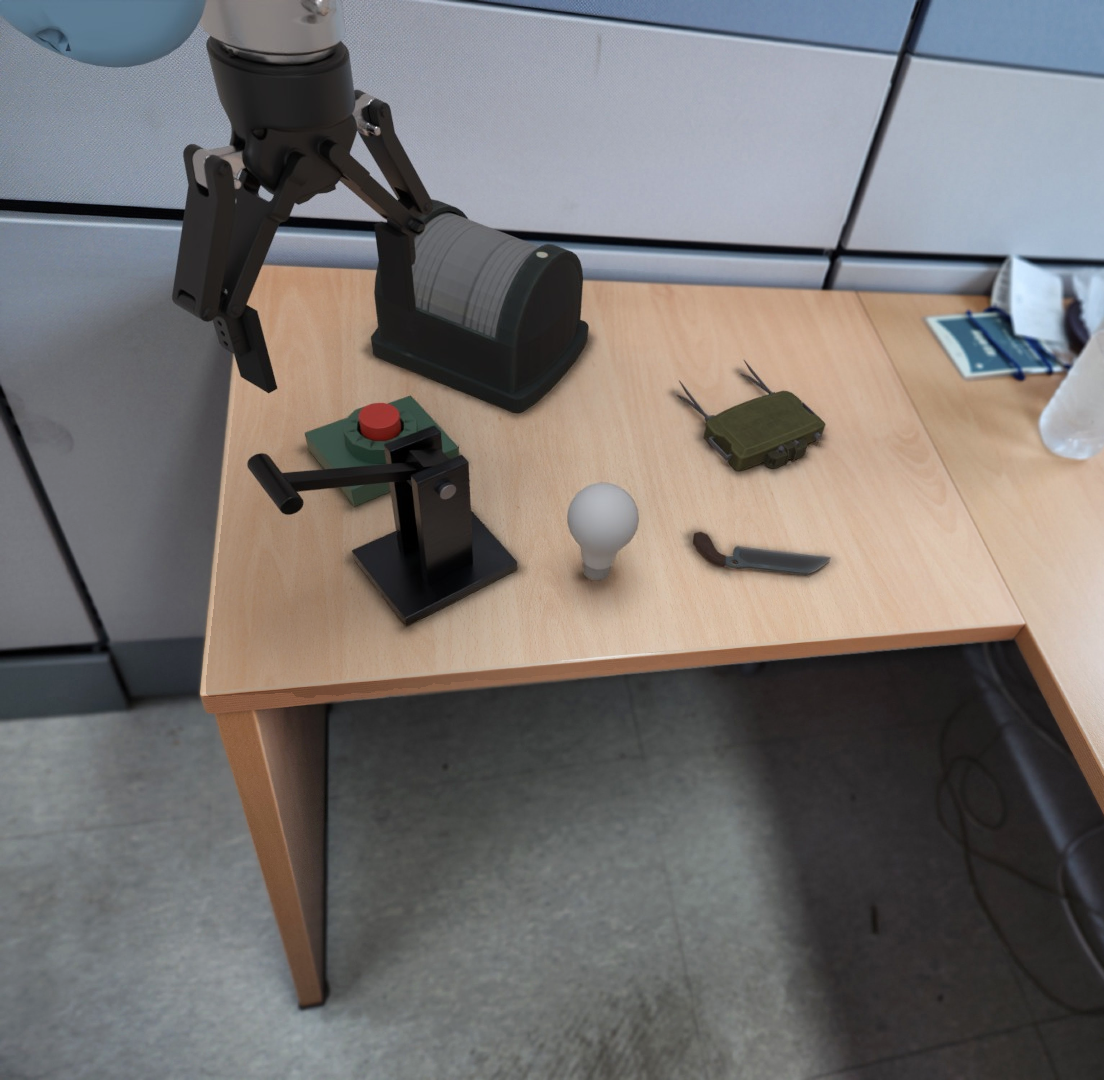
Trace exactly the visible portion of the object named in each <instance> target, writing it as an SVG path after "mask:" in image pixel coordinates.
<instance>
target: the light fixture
mask: <svg viewBox="0 0 1104 1080" xmlns="http://www.w3.org/2000/svg"><path fill="white" fill-rule="evenodd" d="M431 200H432V202H433V211H432V212H431V213H430V214H429V215H424V214H422V215H421V216H420V217H419V219H421V220H422V221H424V223H425V230H424V232H423V233H422V234H421V235H419V236H417V235H415V234H414V242H415V253H416V259H415V264H414V265H412V273H413V283H414V294H415V304H416V309H415V310H413V311H411V312H407V311H405V310H404V309H402V308H400V307H398V306H396V305H394V304H393V303H391V302H389V301H387V300H385V299H384V298H383V290H382V282H381V275H380V267H379V261H378V263H377V266H376V271H375V272H376V273H375V278H374V289H373V290H374V291H373V294H374V295H373V296H374V303H375V304H374V305H375V312H376V313H375V314H376V319H377V320H376V321H377V328H376V329H375V330H374V331H373V333H372V334H371V335H370V342H371V349H372V350H371V351H372V355H373V356H374V357H376V358H378V359H380V360H383V361H386V362H388V363H390V364H393V365H395V366H398V367H401V368H403V369H405V370H408V371H410V372H412V373H415V374H417V375H419V376H422V377H425V378H428V379H430V380H432V381H435V382H437V383H439V384H442V385H444V386H447V387H449V388H451V389H454V390H457V391H459V392H461V393H464V394H467V395H469V396H471V397H474V398H475V399H476V398H477V399H479V400H481V401H484V402H485V403H489V404H492V405H494V406H497V407H499V408H501V409H503V410H506V411H509V412H512V413H516V414H520V413H523V412H525V411H526V410H528V409H529V408H531V407H532V406H534V405H535V404H536V403H538V401H540V400H541V399H542V398H543V397H544V396H546V395H547V394H548V393H549V392H550V391H551V390H552V389H553V388H554V387H555V386H556V384H558V382H559V381H561V379H562V378H564V376H565V375H566V373H567V372H568V371H569V370H570V369H571V367H572V366H573V365H574V364H575V362H576V361H577V360H578V358H579V357H580V355H581V354H582V352H583V350H584V349H585V346H586V345H587V342H588V339H589V338H588V337H589V327H590V326H589V323H588V322H586V321H584V320H583V319H581V318H582V317H581V316H582V300H583V288H584V287H583V286H584V272H583V271H584V270H583V267H582V263H581V260H580V258H579V256H578V255H577V254H576V253H575V252H573V251H572V250H569V249H567V248H564V247H562V246H558V245H556V244H551V243H546V244H543V245H540V246H539V245H537V244H534V243H531V242H529V241H526V240H524V239H521V238H519V237H516V236H513V235H510V234H508V233H506V232H503V231H500V230H497V229H495V228H492V227H489V226H488V225H484V224H482V223H479V222H476V221H474V220H472V219H469V217H468V216H467V215H466V214H465V212H464V211H462V209H459V207H456V206H454V205H451V204H448V203H446V202H443V201H441V200H437V199H432V198H431Z"/></svg>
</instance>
